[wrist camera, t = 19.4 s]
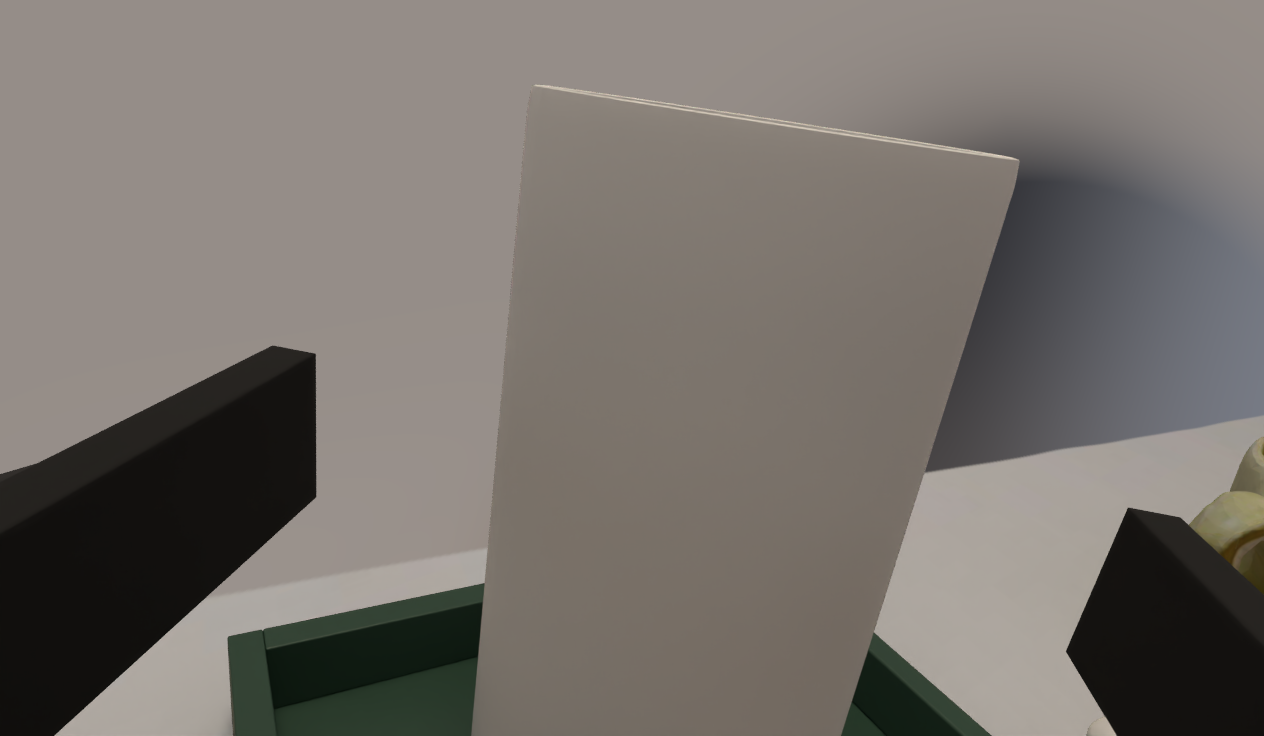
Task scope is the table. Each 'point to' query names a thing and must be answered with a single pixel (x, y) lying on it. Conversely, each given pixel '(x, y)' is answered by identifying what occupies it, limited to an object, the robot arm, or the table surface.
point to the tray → (471, 677)
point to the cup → (715, 411)
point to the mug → (1239, 519)
